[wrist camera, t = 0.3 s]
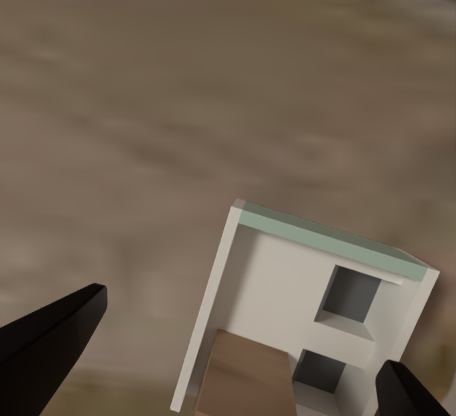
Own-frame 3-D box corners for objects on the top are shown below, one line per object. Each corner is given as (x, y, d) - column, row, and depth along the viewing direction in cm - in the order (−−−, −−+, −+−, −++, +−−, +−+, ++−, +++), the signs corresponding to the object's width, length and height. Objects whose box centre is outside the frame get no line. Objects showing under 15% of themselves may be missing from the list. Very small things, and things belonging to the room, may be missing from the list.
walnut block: (265, 412, 24) (267, 532, 16) (199, 388, 24) (169, 494, 16) (288, 352, 23) (301, 449, 15) (218, 328, 23) (196, 410, 15)
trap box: (330, 418, 26) (346, 475, 22) (186, 365, 28) (169, 409, 23) (402, 249, 23) (440, 271, 19) (237, 198, 25) (231, 206, 20)
